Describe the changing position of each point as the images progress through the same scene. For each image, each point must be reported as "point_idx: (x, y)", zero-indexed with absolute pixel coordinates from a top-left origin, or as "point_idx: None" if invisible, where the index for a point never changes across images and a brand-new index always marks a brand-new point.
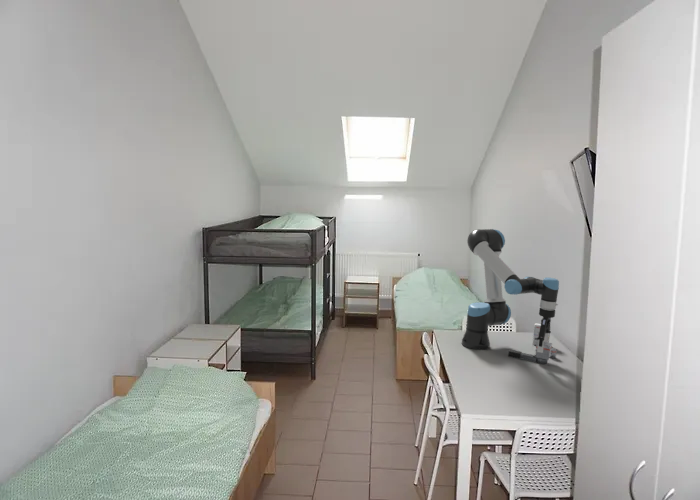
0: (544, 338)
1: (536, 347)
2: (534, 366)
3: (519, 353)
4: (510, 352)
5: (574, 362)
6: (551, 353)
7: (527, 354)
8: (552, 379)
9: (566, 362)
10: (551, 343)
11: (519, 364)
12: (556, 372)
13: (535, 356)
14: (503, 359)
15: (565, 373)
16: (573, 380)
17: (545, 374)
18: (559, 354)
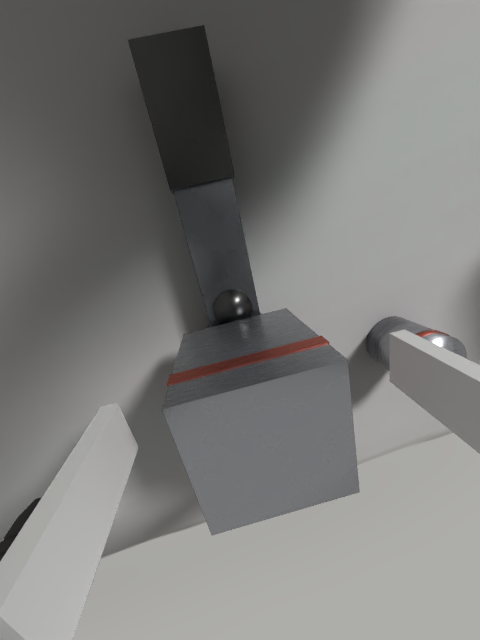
0: (462, 396)
1: (170, 380)
2: (113, 350)
3: (167, 179)
4: (138, 74)
5: (384, 446)
6: (388, 359)
7: (222, 243)
8: (7, 501)
9: (354, 426)
10: (348, 491)
11: (40, 261)
12: (140, 466)
13: (183, 336)
14: (7, 86)
15: (171, 493)
16: (108, 548)
17: (42, 450)
18: (474, 346)
